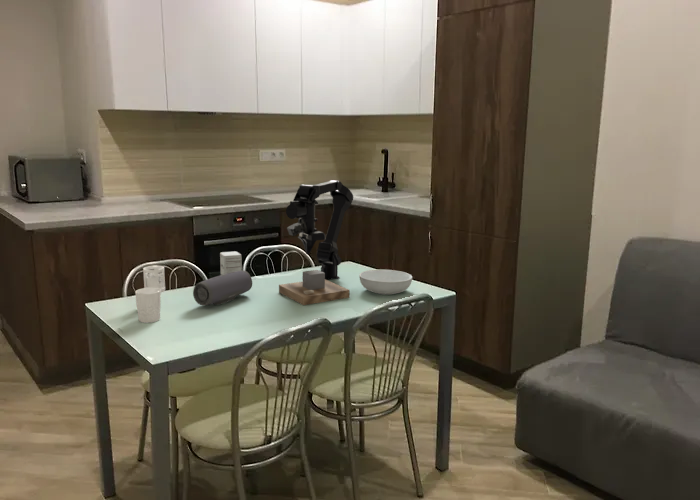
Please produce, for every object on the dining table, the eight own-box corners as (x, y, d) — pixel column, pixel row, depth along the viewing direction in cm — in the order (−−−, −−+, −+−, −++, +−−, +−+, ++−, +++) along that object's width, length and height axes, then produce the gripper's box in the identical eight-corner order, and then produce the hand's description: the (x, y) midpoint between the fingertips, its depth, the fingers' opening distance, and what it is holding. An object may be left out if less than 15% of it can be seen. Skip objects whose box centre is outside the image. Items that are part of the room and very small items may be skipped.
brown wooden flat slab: (323, 285, 241) (323, 276, 241) (349, 297, 225) (349, 287, 224) (279, 292, 231) (278, 282, 230) (303, 305, 214) (303, 295, 214)
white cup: (153, 314, 201) (151, 286, 199) (166, 319, 196) (165, 290, 194) (132, 319, 195) (130, 290, 193) (145, 325, 190) (143, 295, 188)
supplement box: (220, 281, 245) (219, 252, 242) (238, 280, 248) (237, 250, 245) (224, 286, 238) (223, 255, 236) (242, 284, 241) (241, 254, 239)
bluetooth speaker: (235, 292, 230) (234, 267, 228) (253, 296, 225) (253, 270, 223) (192, 306, 211) (191, 279, 208) (211, 311, 206) (210, 283, 204)
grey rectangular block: (316, 290, 232) (316, 269, 230) (324, 294, 227) (324, 272, 225) (302, 292, 229) (302, 271, 227) (310, 296, 224) (310, 274, 222)
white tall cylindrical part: (147, 309, 207) (145, 267, 203) (143, 304, 212) (141, 263, 209) (168, 306, 210) (166, 265, 207) (163, 301, 216) (161, 261, 213)
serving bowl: (408, 301, 222) (409, 283, 221) (354, 297, 226) (354, 279, 225) (414, 287, 242) (414, 270, 241) (364, 283, 246) (364, 267, 245)
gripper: (279, 214, 240) (279, 251, 243) (301, 220, 224) (301, 260, 227) (303, 212, 246) (303, 249, 249) (326, 218, 230) (325, 257, 233)
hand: (307, 254), depth 239 cm, fingers closed
